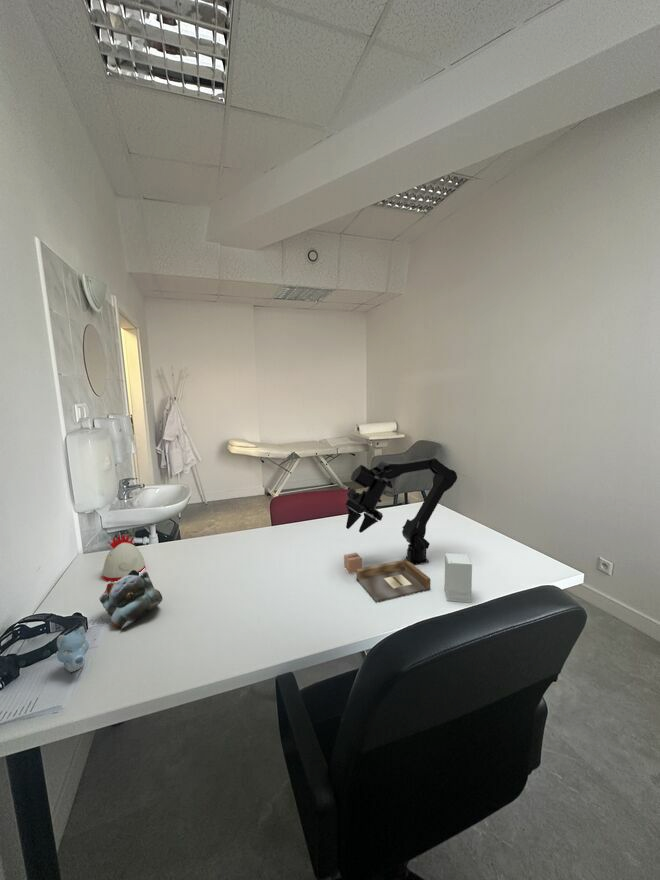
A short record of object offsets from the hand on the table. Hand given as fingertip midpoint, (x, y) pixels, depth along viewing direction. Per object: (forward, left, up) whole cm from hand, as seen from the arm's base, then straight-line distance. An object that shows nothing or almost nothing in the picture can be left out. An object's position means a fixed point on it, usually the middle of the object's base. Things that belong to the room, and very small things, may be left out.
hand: (353, 530), depth 131 cm
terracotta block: (0, -1, -16) cm, 16 cm away
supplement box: (-24, +28, -16) cm, 40 cm away
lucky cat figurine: (+73, +1, -16) cm, 75 cm away
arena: (-8, +14, -15) cm, 23 cm away
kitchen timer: (+81, -31, -16) cm, 88 cm away
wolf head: (+82, +21, -16) cm, 86 cm away
